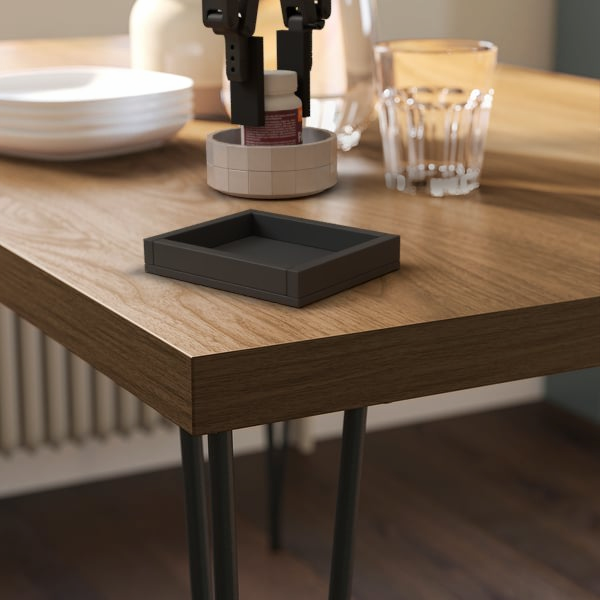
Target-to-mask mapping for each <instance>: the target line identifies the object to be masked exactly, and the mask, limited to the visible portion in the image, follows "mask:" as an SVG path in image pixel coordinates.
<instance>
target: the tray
mask: <svg viewBox="0 0 600 600" xmlns="http://www.w3.org/2000/svg"><path fill="white" fill-rule="evenodd" d="M142 241H143V243H142V244H143V261H144V272H146V273H150V274H154V275H159V276H162V277H167V278H171V279H175V280H179V281H184V282H187V283H188V282H189V283H192V284H196V285H200V286H205V287H210V288H213V289H217V290H220V291H221V290H222V291H226V292H229V293H234V294H239V295H243V296H248V297H251V298H256V299H260V300H264V301H268V302H273V303H277V304H281V305H284V306H289V307H294V308H302V307H305V306H307V305H309V304H312V303H314V302H317V301H319V300H320V301H321V300H322V299H324V298H327V297H329V296H333V295H334V294H337V293H340V292H343V291H345V290H348V289H350V288H352V287H353V288H354V287H355V286H357V285H360V284H364V283H365V282H367V281H371V280H372V279H375V278H379V277H381V276H383V275H385V274H388V273H390V272H393V271H396V270H398V269H401V235H400V234H394V233H389V232H383V231H378V230H371V229H366V228H361V227H355V226H350V225H344V224H339V223H338V224H337V223H332V222H326V221H321V220H315V219H309V218H306V217H305V218H304V217H299V216H294V215H288V214H281V213H278V212H277V213H276V212H271V211H266V210H258V209H255V208H249V209H245V210H242V211H238V212H235V213H231V214H228V215H227V214H226V215H224V216H220V217H217V218H213V219H210V220H205V221H203V222H198V223H196V224H192V225H188V226H184V227H181V228H178V229H177V228H176V229H174V230H170V231H167V232H163V233H159V234H156V235H153V236H150V237H149V236H148V237H146V238H143V239H142Z"/></svg>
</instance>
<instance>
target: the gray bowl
mask: <svg viewBox="0 0 600 600" xmlns="http://www.w3.org/2000/svg"><path fill="white" fill-rule="evenodd" d="M302 138H303V144H299V145H287V146H247V145H241V131H240V126H238V127H237V126H236V127H228V128H224V129H219V130H214V131H213V132H211V133H208V134H206V137H205V153H206V180H207V181H206V183H207V186H209V187H211V188H213V189H214V190H216V191H218V192H219V193H223V194H225V195H229V196H232V197H239V198H244V199H245V198H246V199H258V200H259V199H260V200H261V199H262V200H265V199H266V200H270V199H271V200H272V199H274V200H275V199H277V200H278V199H291V198H292V199H294V198H301V197H309V196H312V195H316V194H320V193H322V192H324V191H325V190H327V189H330V188H332V187H333V186H335V185H336V184H337V183H338V135H337V133H336V132H334V131H331V130H329V129H326V128H320V127H314V126H307V125H305V126H304V125H302Z"/></svg>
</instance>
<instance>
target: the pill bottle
mask: <svg viewBox="0 0 600 600" xmlns="http://www.w3.org/2000/svg"><path fill="white" fill-rule="evenodd" d="M295 91H297V73H296V72H294V71H286V70H277V69H264V100H265V126H262V127H252V126H244V125H239V127H240V131H241V145H247V146H287V145H299V144H303V138H302V126H303V118H302V102H301V100H300V99H299V98H298V97H297V96H295V94H294V92H295Z"/></svg>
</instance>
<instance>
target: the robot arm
mask: <svg viewBox="0 0 600 600" xmlns="http://www.w3.org/2000/svg"><path fill="white" fill-rule="evenodd" d="M279 4H280V5H279V6H280V10H281V16H282V23H283V25H284V27H285V28H286V29H277V30H276V29H275V36H276V37H275V38H276V40H275V41H276V42H275V44H276V46H275V47H276V70H286V71H294V72H296V73H297V91H295V92H294V94H295V96H297V97H298V98H299V99H300V100H301V102H302V119H306V118H311V72H312V68H313V31H322V30H323V29H324V27H325V26H326V20H329V19H330V17H331V15H332V0H279ZM259 5H260V0H201V19H202V24H203V26H204V27H205V28H207V29H212V30H211V31H212V33H213V34H214V35H217V36H223V37H224V47H225V48H224V50H225V51H224V53H225V75H226V79H227V81H229V95H230V97H229V99H230V124H231V125H236V126H237V125H238V126H240V125H244V126H252V127H262V126H265V100H264V70H265V54H264V53H265V50H264V49H265V48H264V47H265V46H264V44H265V43H264V36H262V35H261V36H259V35H255V32H256V27H257V21H258V12H259Z"/></svg>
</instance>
